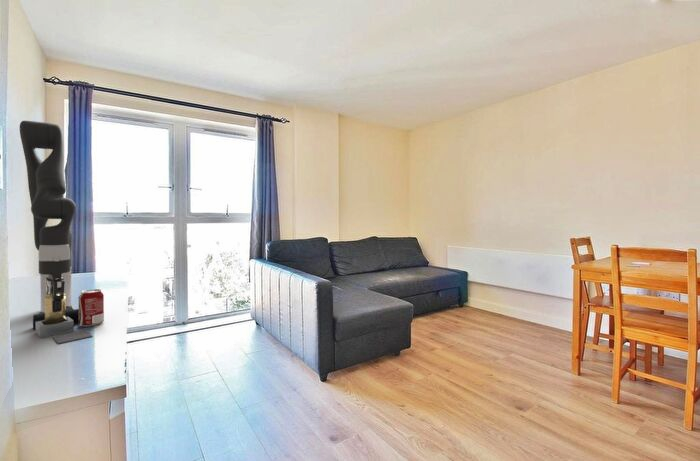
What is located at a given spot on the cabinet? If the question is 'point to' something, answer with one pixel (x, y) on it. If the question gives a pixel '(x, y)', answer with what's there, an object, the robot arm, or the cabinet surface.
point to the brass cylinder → (57, 316)
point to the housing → (54, 327)
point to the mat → (72, 337)
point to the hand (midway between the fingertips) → (55, 310)
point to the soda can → (91, 308)
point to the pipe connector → (69, 312)
